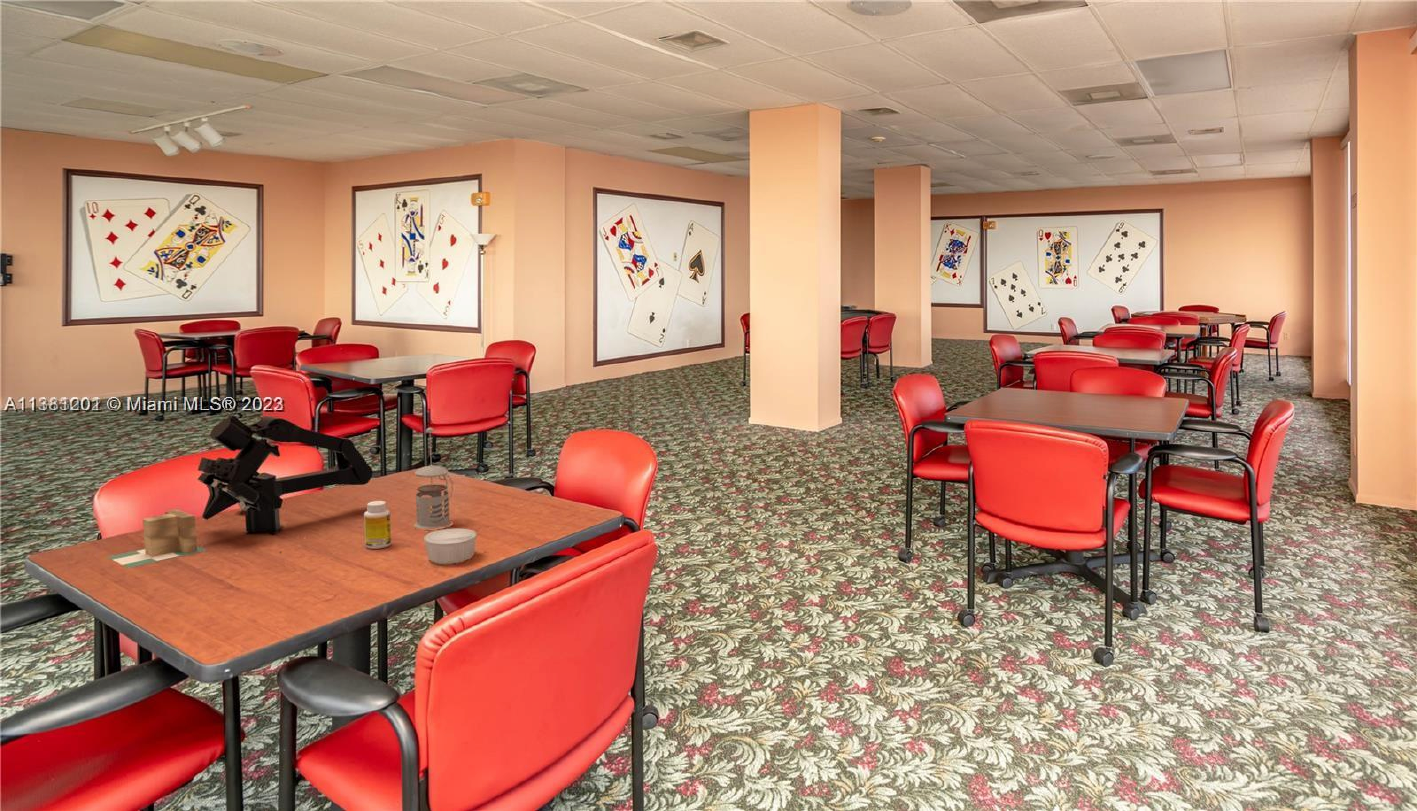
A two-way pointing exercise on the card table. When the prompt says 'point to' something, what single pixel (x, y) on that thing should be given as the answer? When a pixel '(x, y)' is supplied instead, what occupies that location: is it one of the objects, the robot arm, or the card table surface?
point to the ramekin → (450, 545)
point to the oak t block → (169, 533)
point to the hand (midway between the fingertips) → (204, 518)
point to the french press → (424, 503)
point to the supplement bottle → (377, 525)
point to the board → (146, 557)
